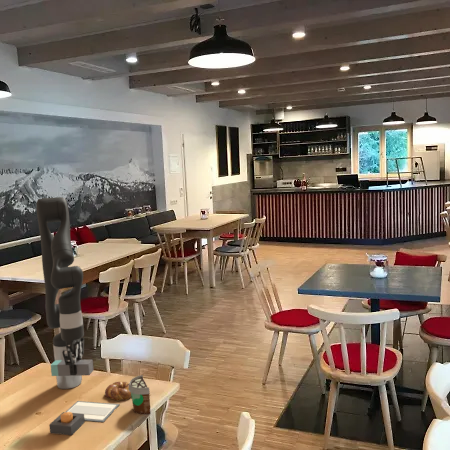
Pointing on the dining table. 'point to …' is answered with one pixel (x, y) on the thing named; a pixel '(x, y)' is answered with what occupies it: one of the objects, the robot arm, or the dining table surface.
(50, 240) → the robot arm
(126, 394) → the pretzel
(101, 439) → the dining table surface
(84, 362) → the marker
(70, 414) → the button
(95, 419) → the drawing board
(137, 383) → the food container
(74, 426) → the button housing
